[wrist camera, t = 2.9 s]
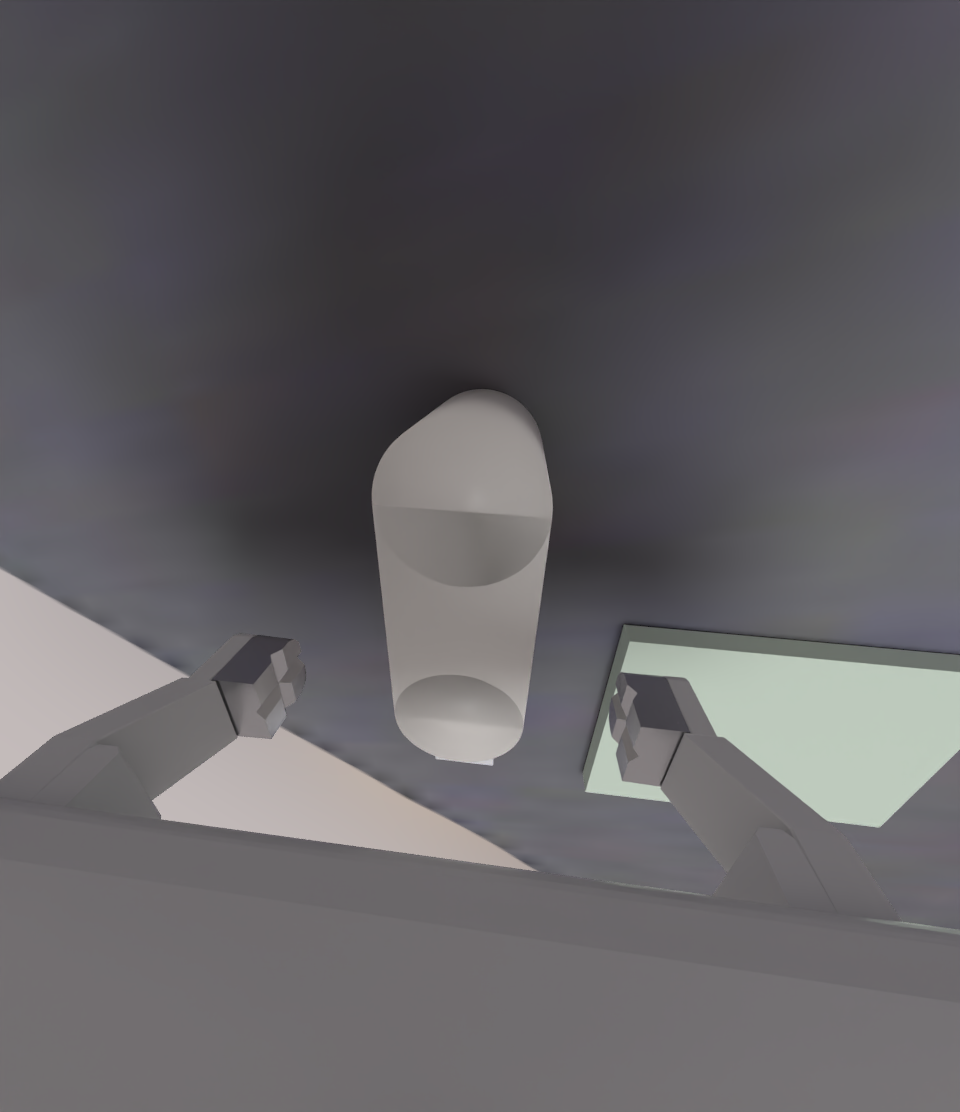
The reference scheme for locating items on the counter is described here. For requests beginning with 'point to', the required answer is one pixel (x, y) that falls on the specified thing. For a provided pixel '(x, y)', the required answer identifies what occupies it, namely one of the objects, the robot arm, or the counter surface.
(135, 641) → the counter surface
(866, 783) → the green mat
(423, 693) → the connector
